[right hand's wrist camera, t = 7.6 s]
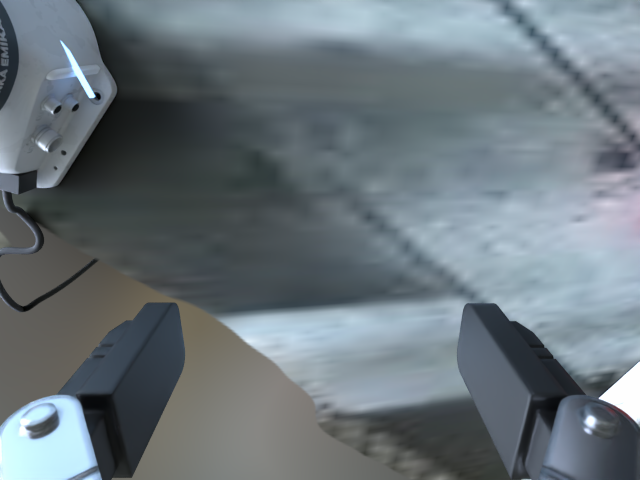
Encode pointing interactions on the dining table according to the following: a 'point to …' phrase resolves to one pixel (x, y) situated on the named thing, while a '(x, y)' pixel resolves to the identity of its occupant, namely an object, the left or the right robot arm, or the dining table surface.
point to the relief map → (626, 394)
